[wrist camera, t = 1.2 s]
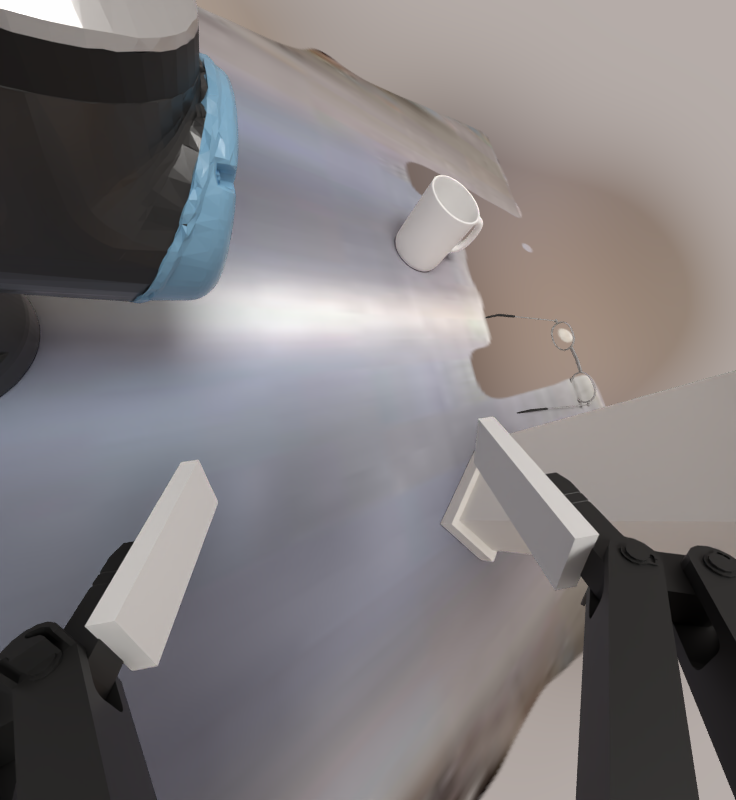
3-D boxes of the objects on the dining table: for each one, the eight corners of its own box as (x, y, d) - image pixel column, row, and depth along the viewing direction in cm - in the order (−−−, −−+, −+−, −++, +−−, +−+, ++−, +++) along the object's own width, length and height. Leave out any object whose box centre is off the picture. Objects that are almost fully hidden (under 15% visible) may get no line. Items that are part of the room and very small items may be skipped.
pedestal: (482, 432, 45) (837, 322, 20) (515, 464, 46) (895, 397, 21) (440, 523, 37) (943, 533, 12) (480, 560, 38) (1030, 641, 13)
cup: (389, 225, 51) (426, 166, 42) (446, 242, 56) (489, 193, 48) (398, 268, 48) (440, 214, 40) (457, 281, 54) (504, 236, 46)
